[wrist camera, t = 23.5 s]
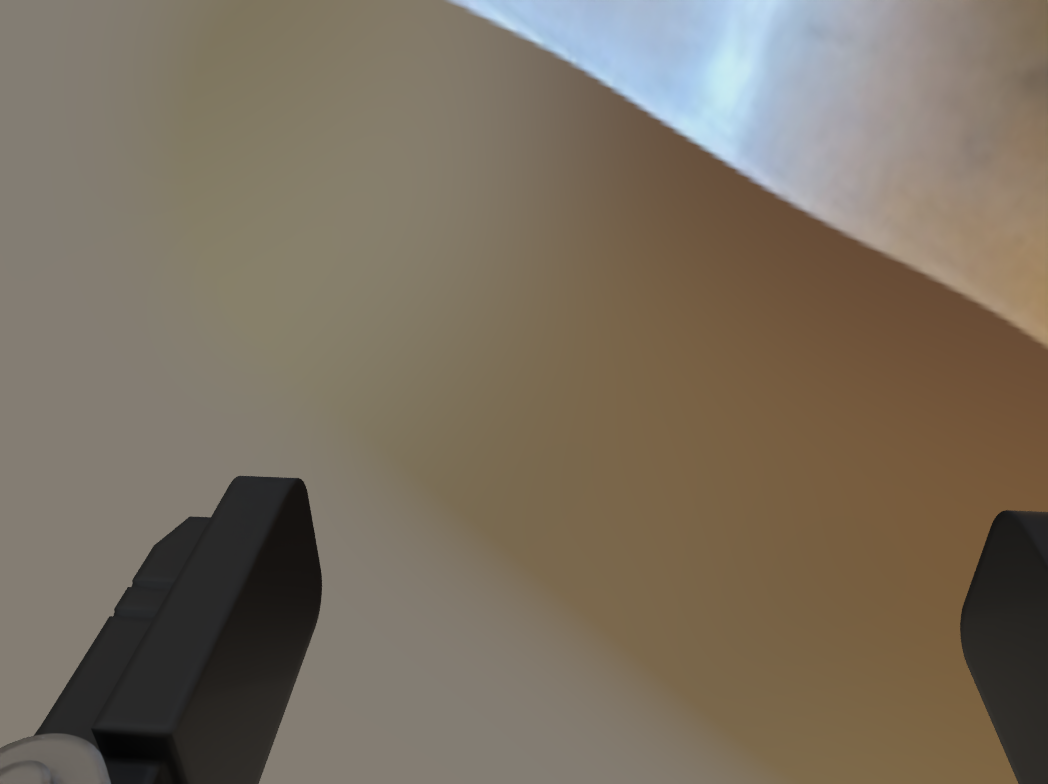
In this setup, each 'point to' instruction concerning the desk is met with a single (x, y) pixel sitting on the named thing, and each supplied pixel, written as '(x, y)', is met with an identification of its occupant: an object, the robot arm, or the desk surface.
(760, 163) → the desk surface
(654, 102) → the desk surface
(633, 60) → the desk surface
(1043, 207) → the desk surface
